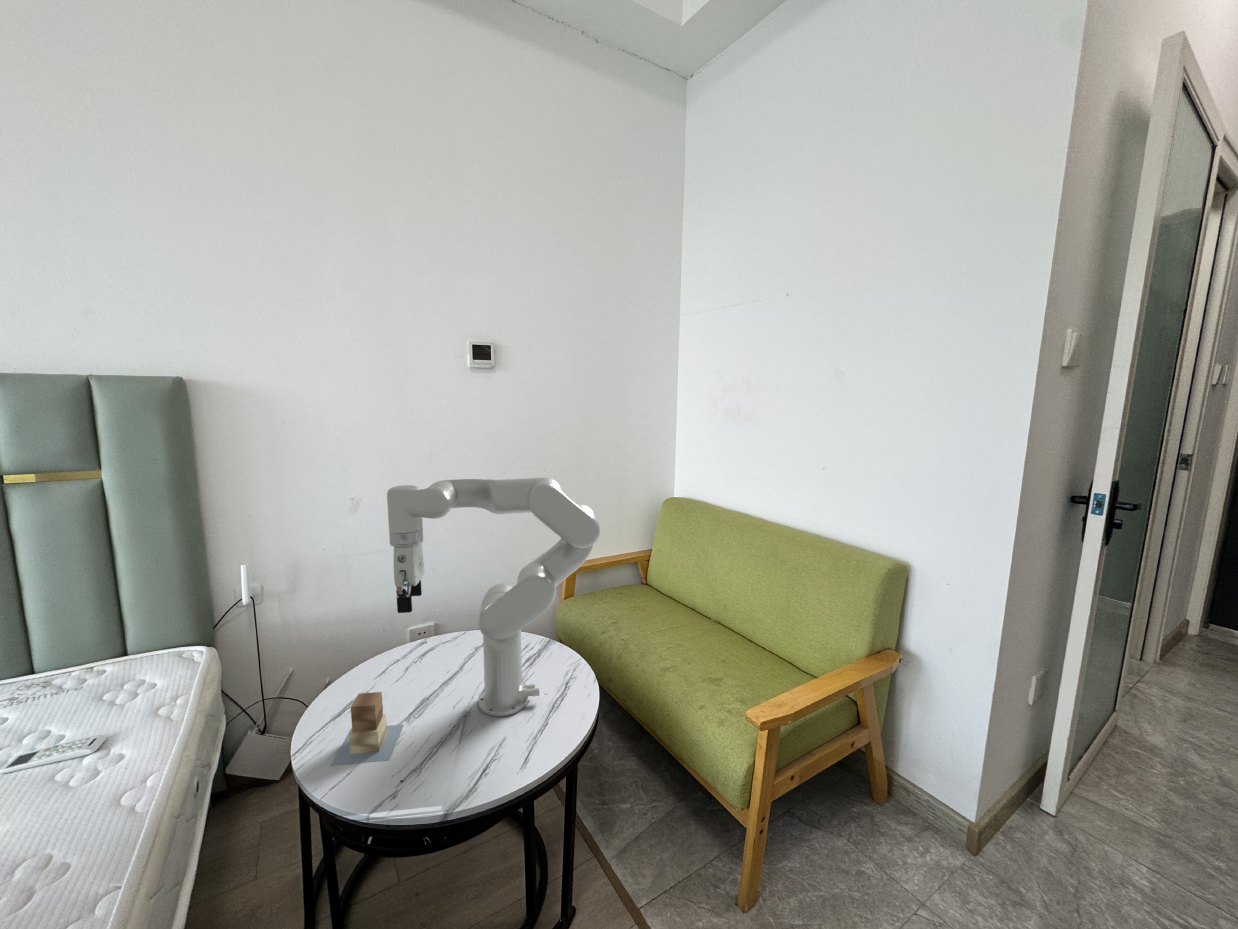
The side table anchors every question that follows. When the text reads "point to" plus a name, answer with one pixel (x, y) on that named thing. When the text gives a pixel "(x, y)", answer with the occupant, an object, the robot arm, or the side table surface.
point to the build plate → (382, 755)
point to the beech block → (368, 739)
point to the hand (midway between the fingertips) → (410, 603)
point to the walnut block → (366, 711)
